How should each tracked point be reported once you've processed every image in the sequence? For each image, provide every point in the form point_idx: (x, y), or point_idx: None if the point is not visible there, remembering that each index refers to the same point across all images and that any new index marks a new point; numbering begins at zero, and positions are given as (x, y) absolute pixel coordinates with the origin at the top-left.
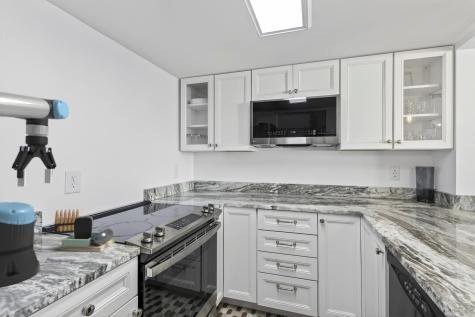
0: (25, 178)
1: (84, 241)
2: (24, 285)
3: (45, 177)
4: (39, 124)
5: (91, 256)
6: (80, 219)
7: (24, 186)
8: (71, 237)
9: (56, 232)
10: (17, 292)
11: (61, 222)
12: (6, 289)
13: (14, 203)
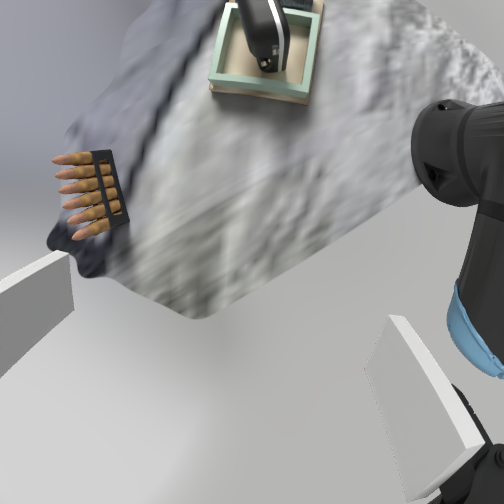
0: (426, 366)
1: (317, 26)
2: None
3: (38, 332)
4: None
5: (357, 14)
6: (284, 16)
7: (400, 316)
8: (266, 80)
9: (125, 214)
10: None
11: (102, 207)
12: None
13: None
